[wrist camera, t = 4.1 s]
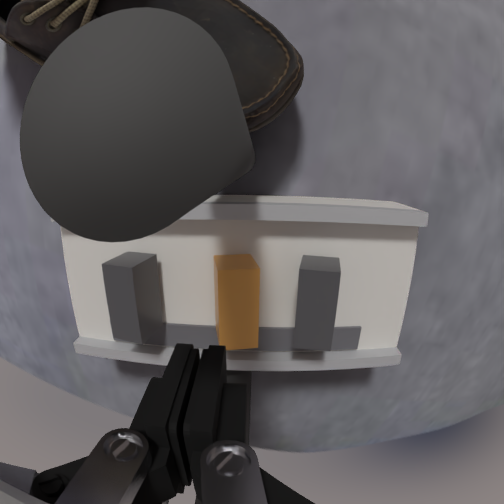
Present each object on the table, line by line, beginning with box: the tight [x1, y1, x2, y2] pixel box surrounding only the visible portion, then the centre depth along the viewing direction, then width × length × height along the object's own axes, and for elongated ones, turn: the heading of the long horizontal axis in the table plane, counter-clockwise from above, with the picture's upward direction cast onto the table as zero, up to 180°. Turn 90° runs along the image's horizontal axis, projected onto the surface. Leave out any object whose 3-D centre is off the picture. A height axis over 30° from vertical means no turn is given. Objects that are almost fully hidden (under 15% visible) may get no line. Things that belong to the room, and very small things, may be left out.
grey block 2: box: [293, 255, 341, 351], centre depth 16 cm, size 2×4×2 cm, turn 179°
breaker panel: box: [51, 195, 428, 371], centre depth 19 cm, size 22×10×5 cm, turn 89°
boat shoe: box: [0, 0, 304, 132], centre depth 12 cm, size 11×29×11 cm, turn 60°
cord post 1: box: [20, 7, 255, 242], centre depth 11 cm, size 2×2×18 cm
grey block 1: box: [102, 251, 163, 345], centre depth 17 cm, size 2×4×2 cm, turn 178°
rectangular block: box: [214, 254, 260, 350], centre depth 16 cm, size 2×4×2 cm, turn 0°
